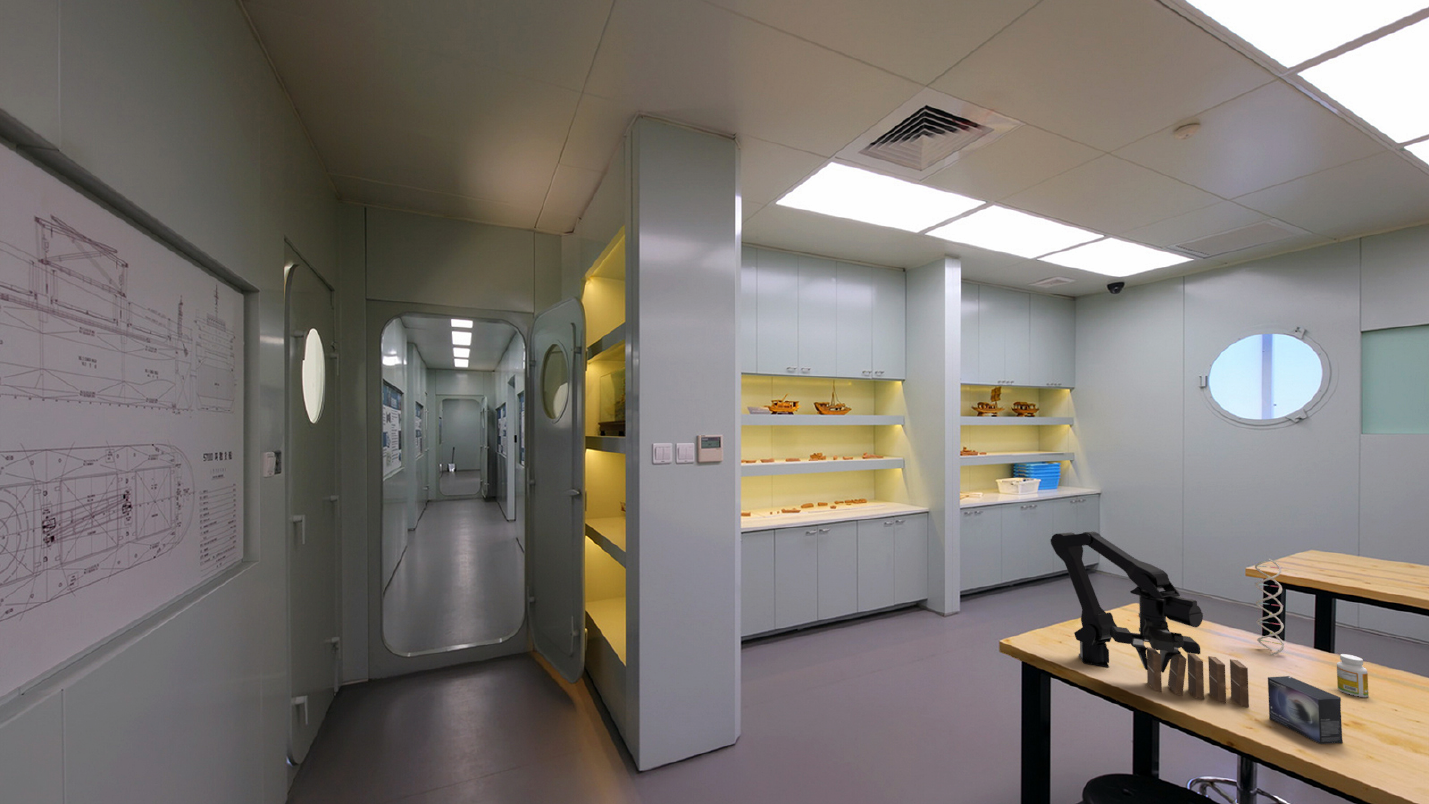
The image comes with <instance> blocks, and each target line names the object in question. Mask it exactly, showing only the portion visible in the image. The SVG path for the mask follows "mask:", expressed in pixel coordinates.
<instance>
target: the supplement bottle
mask: <svg viewBox="0 0 1429 804" xmlns="http://www.w3.org/2000/svg"><path fill="white" fill-rule="evenodd" d="M1339 656H1340V657H1339V659H1340V661H1338V662H1337V663H1336V678H1337V679H1336V680H1337V689H1338V691H1340V692H1342V693H1344V694H1347V695H1349V694H1350V695H1349V696H1353V695H1354V696H1353V697H1357V696H1359V697H1358V698H1368V697H1369V675H1368V669H1367V668H1365V667H1364V666H1363V665H1364V660H1363V658H1362V657H1359V656H1356V655H1352V654H1345V653H1341V654H1340V655H1339Z"/></svg>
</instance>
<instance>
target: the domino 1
mask: <svg viewBox="0 0 1429 804" xmlns="http://www.w3.org/2000/svg"><path fill="white" fill-rule="evenodd" d="M1146 648H1147V650H1146V656H1147V664H1148V670H1146V675H1147V677H1146V678H1147V684H1148V685H1149V686H1150V687H1151V689H1152V690H1153V691H1154V692H1157V693H1158V692H1159V693H1162V692H1163V691H1162V690H1163V688H1162V687H1163V686H1162V672H1161V655H1160V652H1158V650H1155V649H1153V648H1152V647H1151V646H1146Z"/></svg>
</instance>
